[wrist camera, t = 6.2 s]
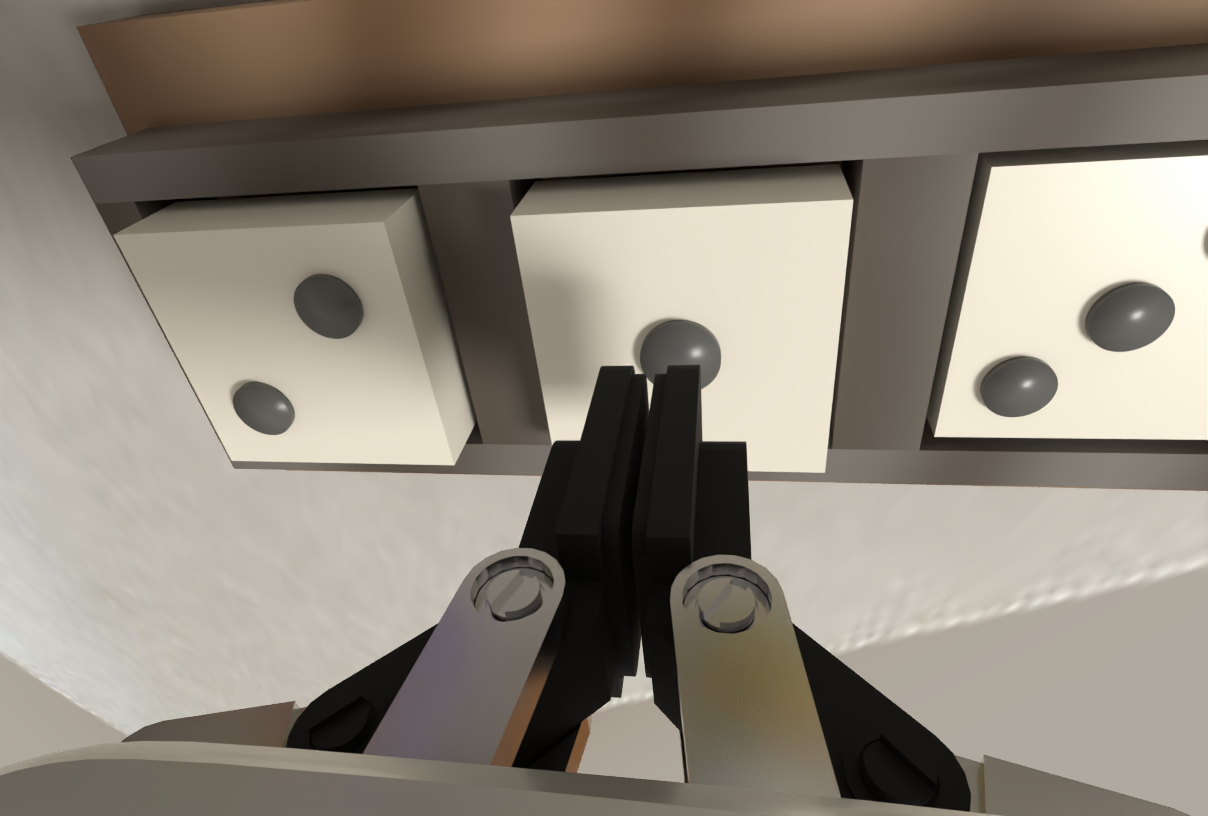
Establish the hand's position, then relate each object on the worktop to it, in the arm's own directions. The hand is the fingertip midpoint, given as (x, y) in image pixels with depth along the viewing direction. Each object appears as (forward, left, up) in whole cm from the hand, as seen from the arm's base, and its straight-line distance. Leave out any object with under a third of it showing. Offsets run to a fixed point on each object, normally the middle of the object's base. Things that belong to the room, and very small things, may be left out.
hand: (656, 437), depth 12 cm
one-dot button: (0, 0, -5) cm, 5 cm away
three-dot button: (-9, 0, -6) cm, 10 cm away
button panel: (0, 0, -8) cm, 8 cm away
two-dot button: (+8, 0, -4) cm, 9 cm away
